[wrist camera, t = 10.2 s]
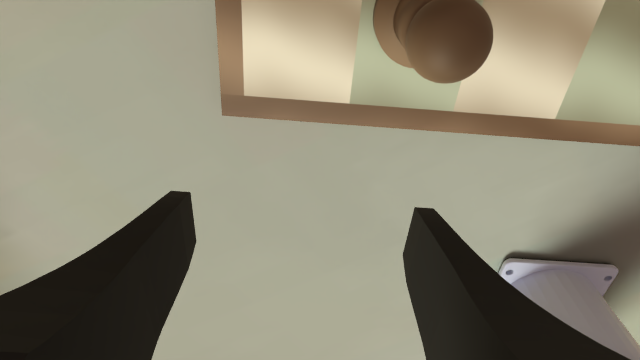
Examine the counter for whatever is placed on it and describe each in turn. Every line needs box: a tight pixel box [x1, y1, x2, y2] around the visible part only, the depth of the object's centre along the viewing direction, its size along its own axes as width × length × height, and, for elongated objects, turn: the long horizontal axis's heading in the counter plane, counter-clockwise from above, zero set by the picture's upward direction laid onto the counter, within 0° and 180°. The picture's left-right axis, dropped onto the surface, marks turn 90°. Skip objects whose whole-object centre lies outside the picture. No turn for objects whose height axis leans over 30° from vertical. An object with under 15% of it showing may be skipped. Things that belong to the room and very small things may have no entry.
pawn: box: [373, 0, 493, 84], centre depth 16 cm, size 4×4×6 cm
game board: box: [215, 0, 640, 146], centre depth 19 cm, size 11×30×1 cm, turn 86°
